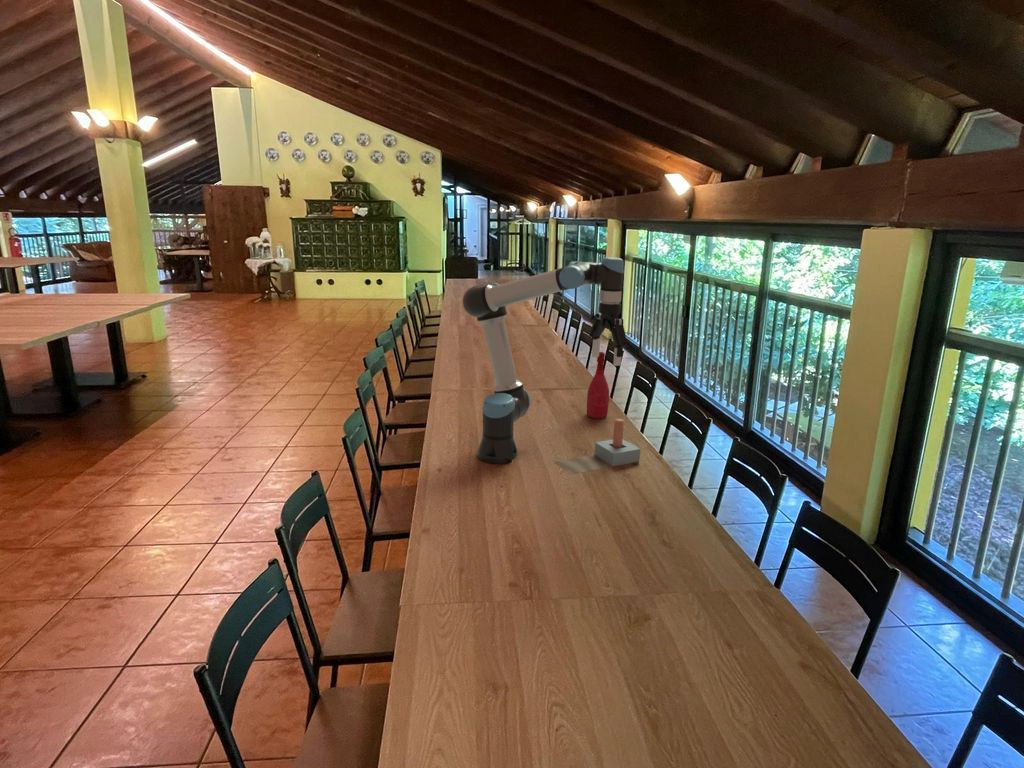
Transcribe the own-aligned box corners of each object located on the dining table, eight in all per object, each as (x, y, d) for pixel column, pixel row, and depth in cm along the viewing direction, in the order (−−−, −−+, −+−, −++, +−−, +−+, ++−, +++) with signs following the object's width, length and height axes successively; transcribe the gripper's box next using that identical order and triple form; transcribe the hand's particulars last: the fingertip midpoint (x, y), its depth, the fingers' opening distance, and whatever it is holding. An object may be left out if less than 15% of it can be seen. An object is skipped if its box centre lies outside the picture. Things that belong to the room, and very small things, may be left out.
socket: (612, 466, 226) (613, 453, 224) (594, 454, 236) (595, 442, 234) (639, 461, 231) (640, 448, 229) (620, 449, 241) (621, 437, 240)
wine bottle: (590, 420, 277) (595, 355, 268) (582, 413, 286) (586, 350, 277) (611, 418, 279) (616, 354, 271) (602, 411, 288) (606, 349, 280)
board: (570, 477, 218) (570, 474, 218) (553, 464, 228) (553, 461, 228) (638, 463, 231) (639, 461, 231) (619, 452, 241) (620, 449, 241)
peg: (615, 460, 231) (618, 422, 227) (609, 456, 234) (612, 419, 230) (623, 458, 233) (626, 421, 228) (617, 455, 236) (620, 418, 232)
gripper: (640, 307, 208) (635, 368, 214) (599, 296, 229) (595, 352, 235) (622, 308, 204) (617, 370, 210) (582, 297, 226) (578, 354, 232)
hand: (605, 361), depth 223 cm, fingers open, 13 cm apart
